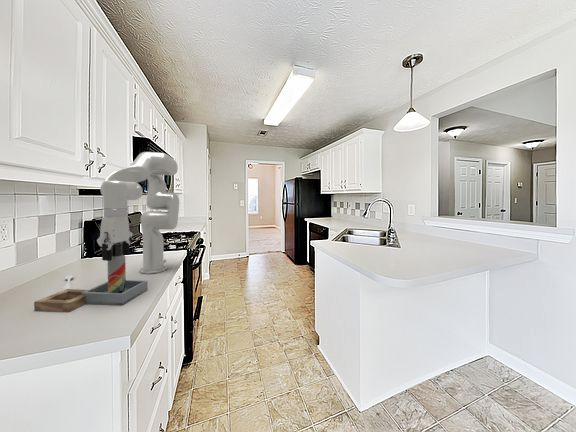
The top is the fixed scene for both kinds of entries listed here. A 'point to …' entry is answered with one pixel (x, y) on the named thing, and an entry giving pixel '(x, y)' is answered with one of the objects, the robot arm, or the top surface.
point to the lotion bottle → (117, 271)
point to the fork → (68, 282)
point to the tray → (105, 298)
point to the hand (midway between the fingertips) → (116, 257)
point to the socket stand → (62, 301)
